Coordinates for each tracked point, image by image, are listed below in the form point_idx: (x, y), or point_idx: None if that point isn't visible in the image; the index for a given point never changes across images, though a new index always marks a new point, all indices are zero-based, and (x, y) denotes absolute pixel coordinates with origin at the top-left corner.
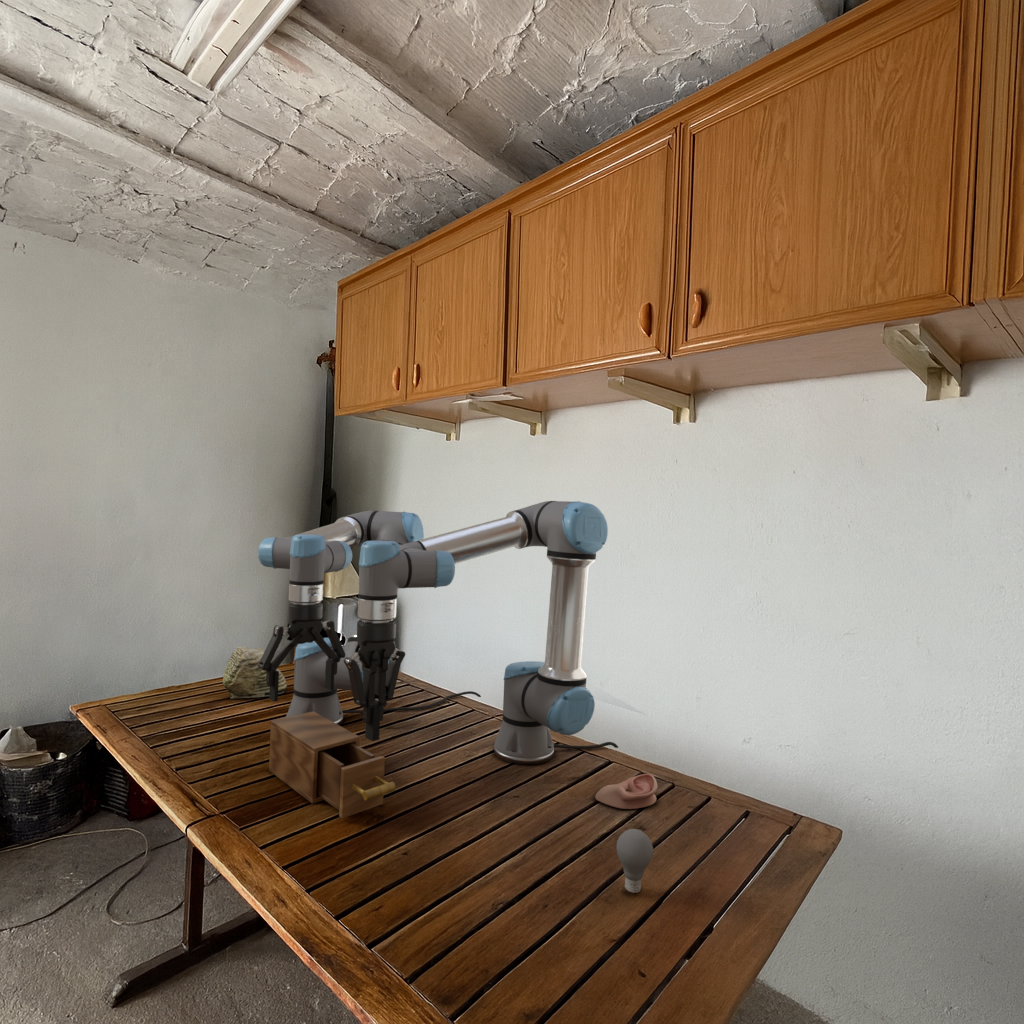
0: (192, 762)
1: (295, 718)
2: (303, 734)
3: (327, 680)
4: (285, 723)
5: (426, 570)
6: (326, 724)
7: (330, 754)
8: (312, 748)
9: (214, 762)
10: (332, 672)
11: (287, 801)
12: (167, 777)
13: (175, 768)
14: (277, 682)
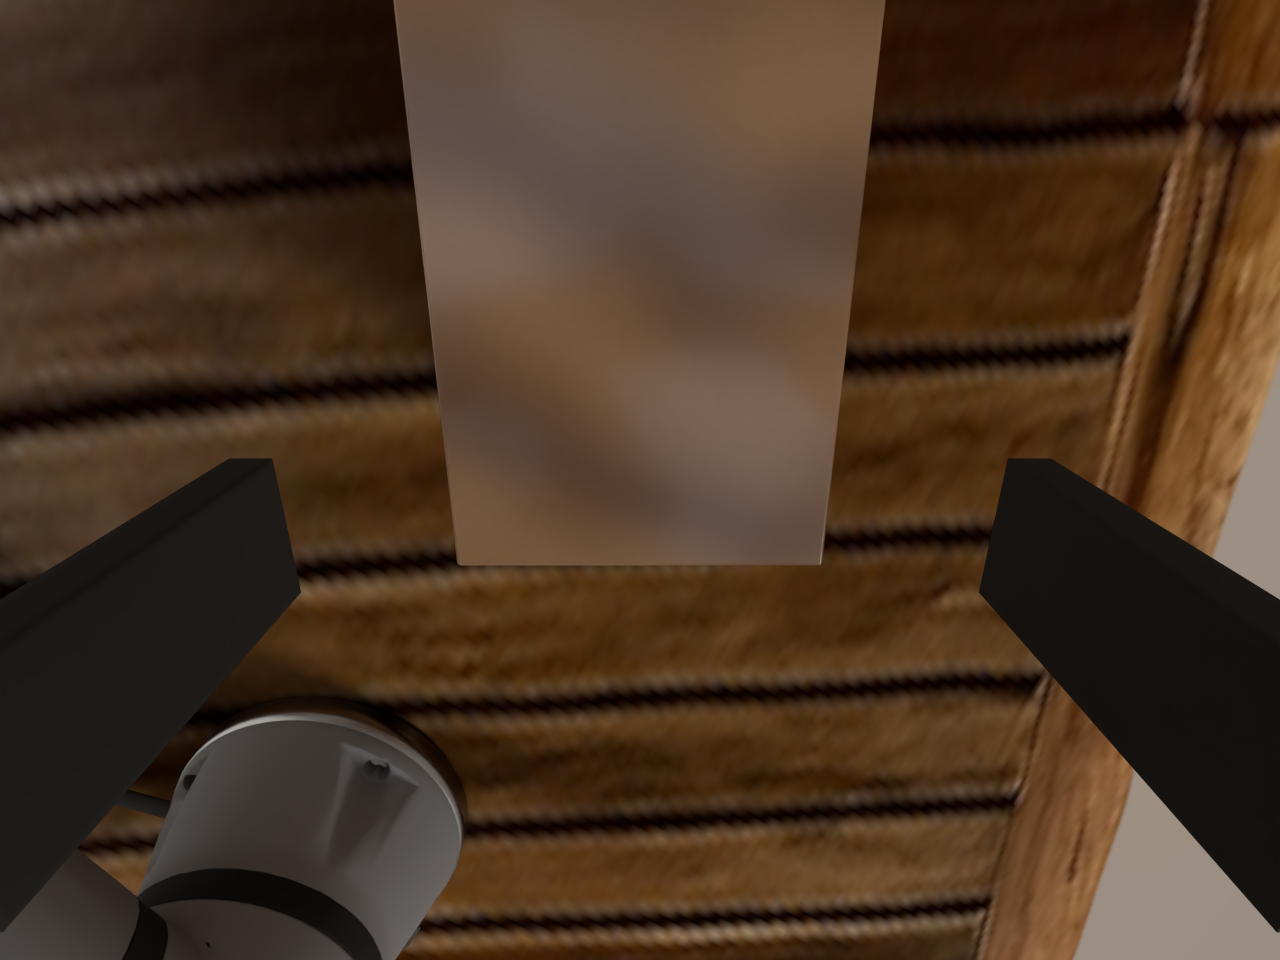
0: (954, 710)
1: (651, 501)
2: (795, 84)
3: (230, 601)
4: (770, 446)
5: None
6: (499, 201)
7: None
8: None
9: (890, 662)
10: (67, 583)
11: None
12: None
13: (1033, 695)
14: (1205, 580)
